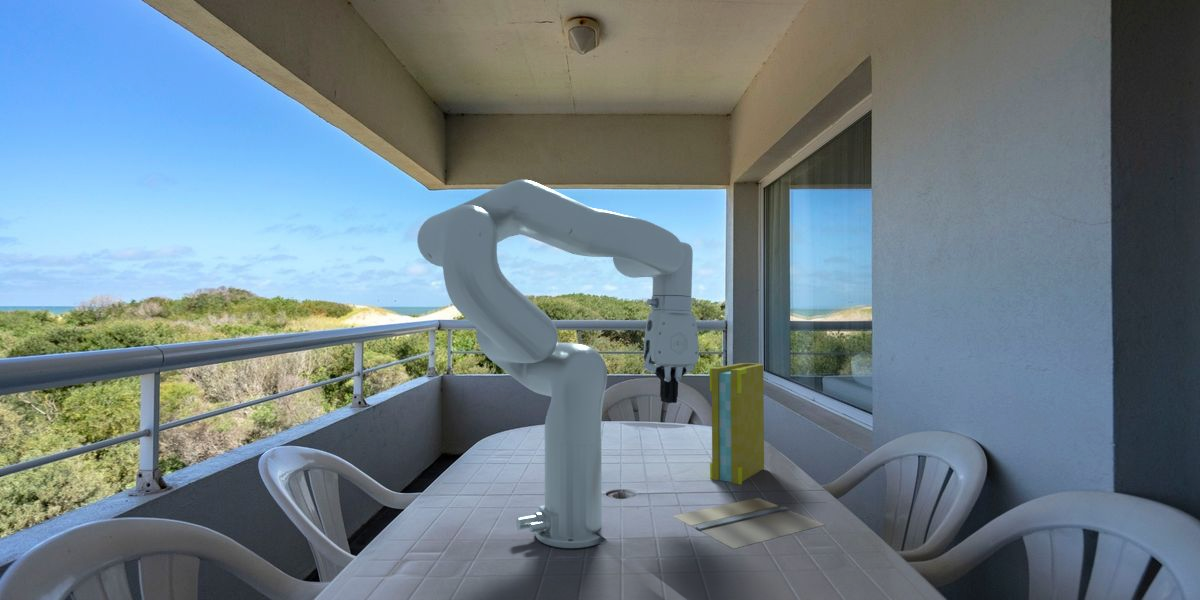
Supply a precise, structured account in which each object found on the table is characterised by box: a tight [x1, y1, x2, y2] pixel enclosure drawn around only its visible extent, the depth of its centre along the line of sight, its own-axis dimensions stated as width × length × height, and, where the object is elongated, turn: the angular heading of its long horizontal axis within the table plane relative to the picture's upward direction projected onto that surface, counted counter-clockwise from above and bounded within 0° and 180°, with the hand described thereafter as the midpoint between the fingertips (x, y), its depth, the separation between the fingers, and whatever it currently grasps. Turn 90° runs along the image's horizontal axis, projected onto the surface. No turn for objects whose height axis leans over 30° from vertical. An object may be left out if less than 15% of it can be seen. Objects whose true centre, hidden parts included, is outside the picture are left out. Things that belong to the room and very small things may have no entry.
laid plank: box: [691, 505, 826, 550], centre depth 93 cm, size 20×10×2 cm, turn 118°
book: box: [709, 362, 765, 485], centre depth 124 cm, size 17×7×25 cm, turn 143°
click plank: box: [672, 497, 779, 527], centre depth 102 cm, size 20×10×2 cm, turn 118°
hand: (668, 401), depth 107 cm, fingers closed
